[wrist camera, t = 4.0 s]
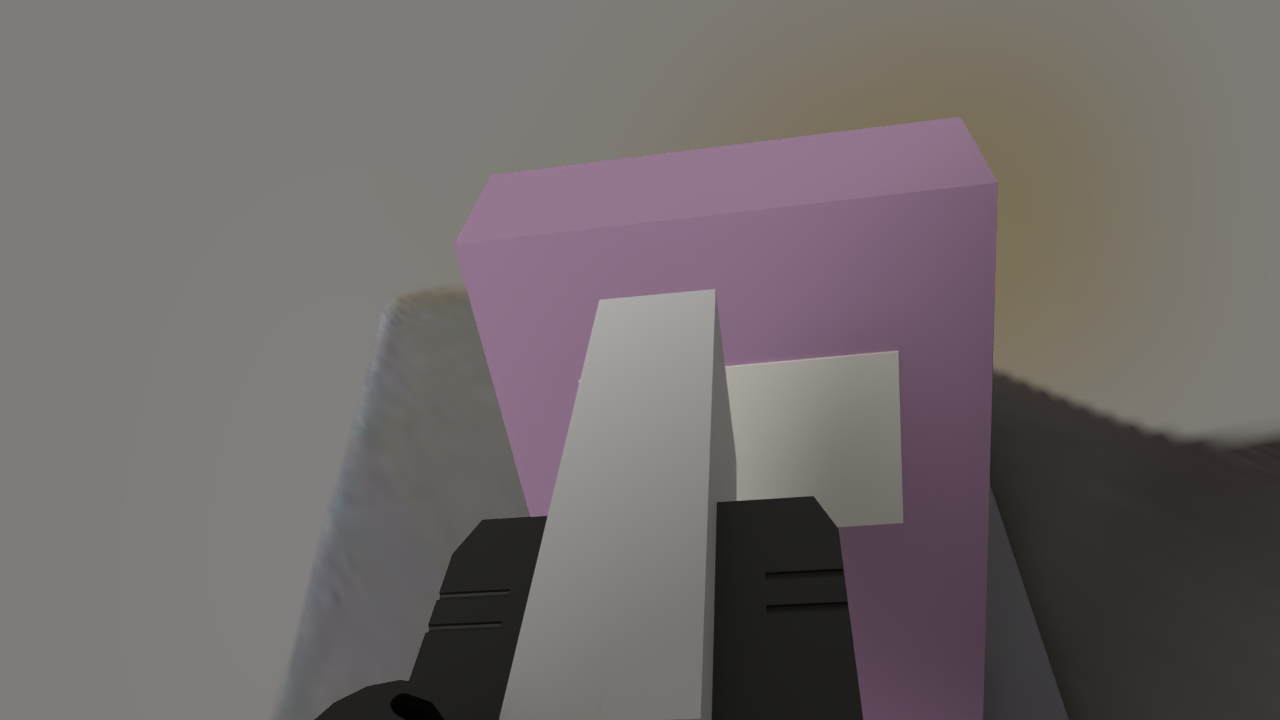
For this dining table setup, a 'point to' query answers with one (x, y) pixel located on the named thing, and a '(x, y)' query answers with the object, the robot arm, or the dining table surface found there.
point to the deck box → (790, 353)
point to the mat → (1013, 640)
